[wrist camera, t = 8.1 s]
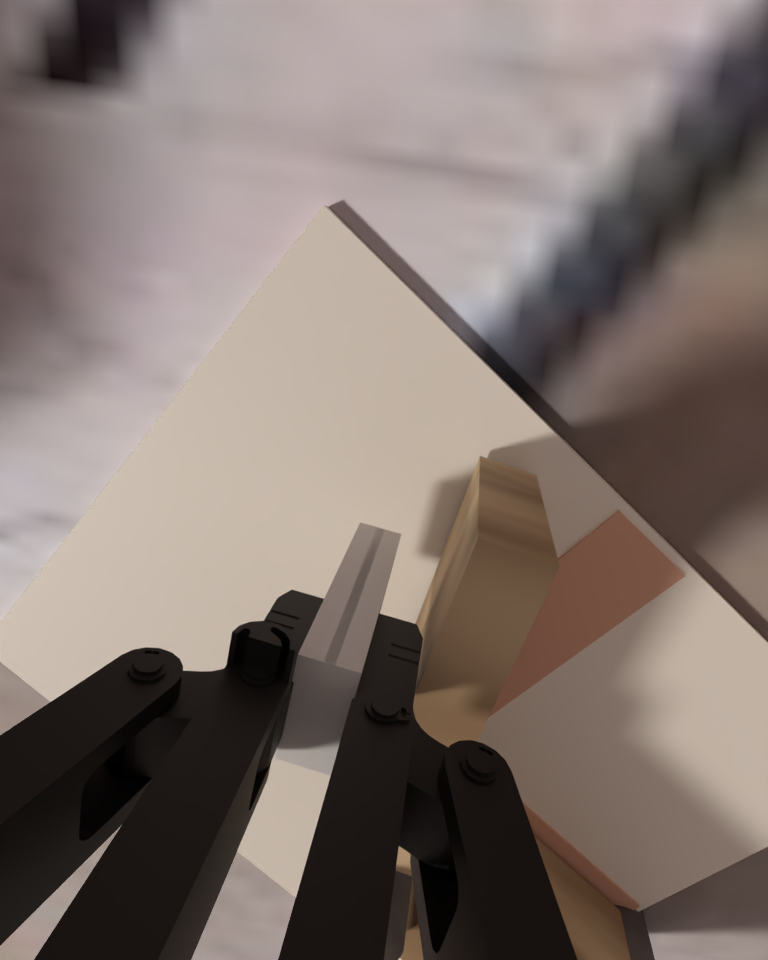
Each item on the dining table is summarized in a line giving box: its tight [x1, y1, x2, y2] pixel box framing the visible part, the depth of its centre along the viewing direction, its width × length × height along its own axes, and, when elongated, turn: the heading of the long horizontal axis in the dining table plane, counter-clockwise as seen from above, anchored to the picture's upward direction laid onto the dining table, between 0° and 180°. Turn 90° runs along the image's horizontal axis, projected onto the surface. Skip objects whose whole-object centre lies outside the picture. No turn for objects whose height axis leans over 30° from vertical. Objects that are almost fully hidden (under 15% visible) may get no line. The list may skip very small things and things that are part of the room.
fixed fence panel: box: [400, 836, 655, 960], centre depth 21 cm, size 2×12×7 cm, turn 47°
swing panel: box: [384, 456, 560, 960], centre depth 17 cm, size 13×2×7 cm, turn 163°
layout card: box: [0, 205, 768, 960], centre depth 22 cm, size 22×26×1 cm
